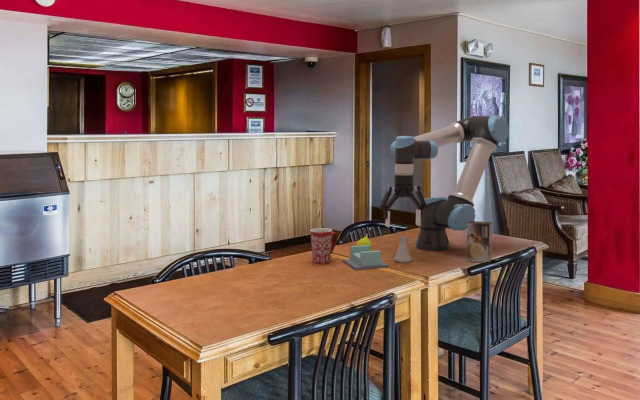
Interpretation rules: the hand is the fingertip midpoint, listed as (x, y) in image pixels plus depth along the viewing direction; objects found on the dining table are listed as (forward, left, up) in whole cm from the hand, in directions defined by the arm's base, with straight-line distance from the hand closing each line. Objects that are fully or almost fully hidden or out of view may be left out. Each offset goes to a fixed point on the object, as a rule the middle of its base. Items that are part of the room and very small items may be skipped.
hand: (402, 226), depth 229 cm
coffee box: (-30, +9, -15) cm, 35 cm away
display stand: (+17, +1, -15) cm, 22 cm away
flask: (0, 0, -15) cm, 15 cm away
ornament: (+11, -16, -15) cm, 24 cm away
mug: (+31, -9, -15) cm, 35 cm away
